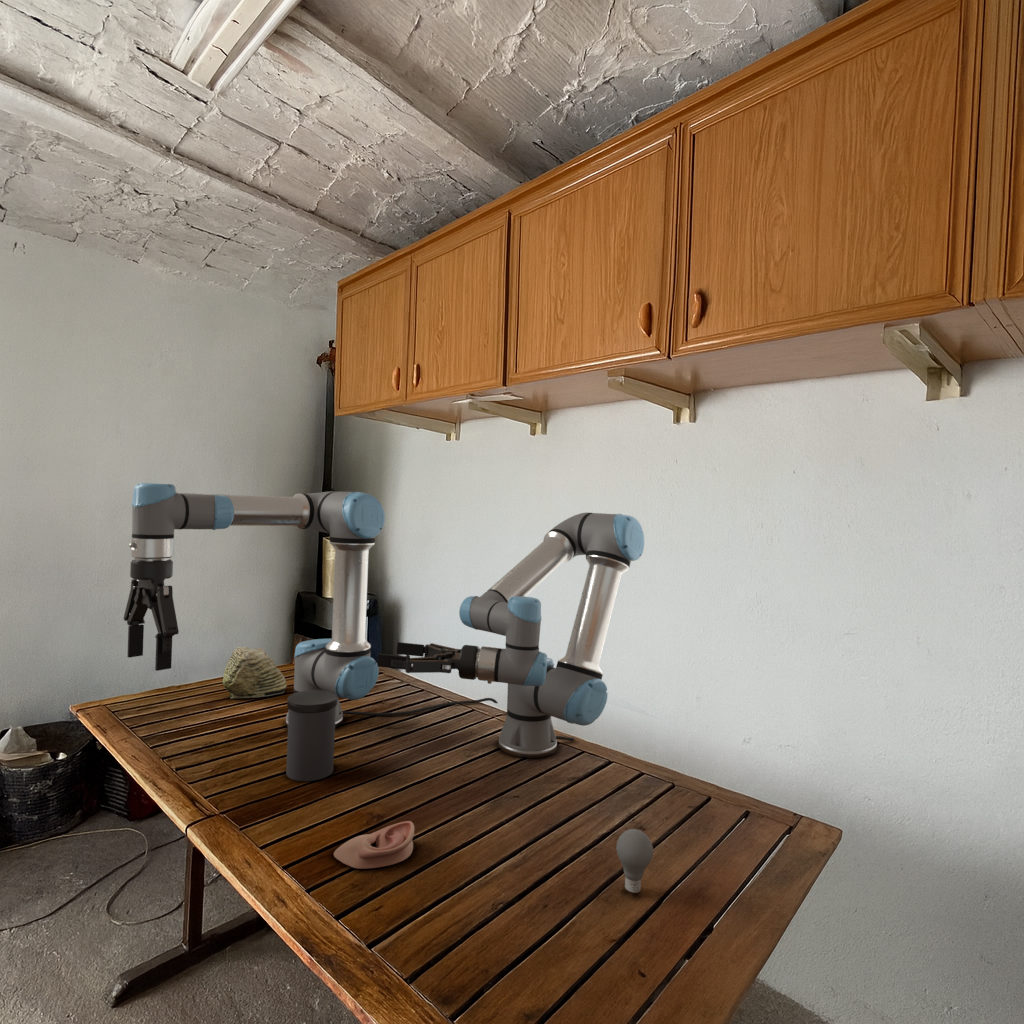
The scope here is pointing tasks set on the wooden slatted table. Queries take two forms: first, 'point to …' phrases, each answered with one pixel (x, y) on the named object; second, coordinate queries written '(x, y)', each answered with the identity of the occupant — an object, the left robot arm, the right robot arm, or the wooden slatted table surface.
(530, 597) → the right robot arm
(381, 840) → the anatomical model
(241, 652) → the fossil
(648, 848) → the light bulb
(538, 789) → the wooden slatted table surface
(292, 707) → the lid
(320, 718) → the jar
